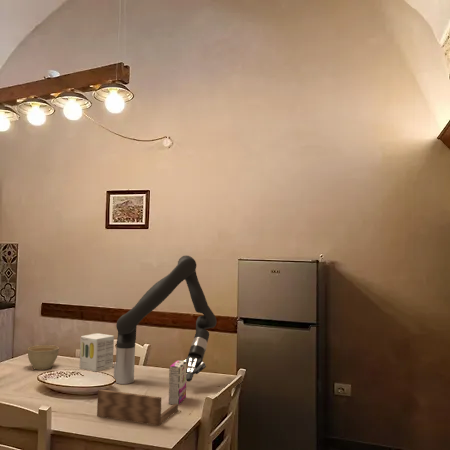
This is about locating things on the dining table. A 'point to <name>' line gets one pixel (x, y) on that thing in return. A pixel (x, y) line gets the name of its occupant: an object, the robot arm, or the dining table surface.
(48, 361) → the planter bowl
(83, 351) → the supplement box
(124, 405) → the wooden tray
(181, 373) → the candy bar box
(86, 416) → the dining table surface
